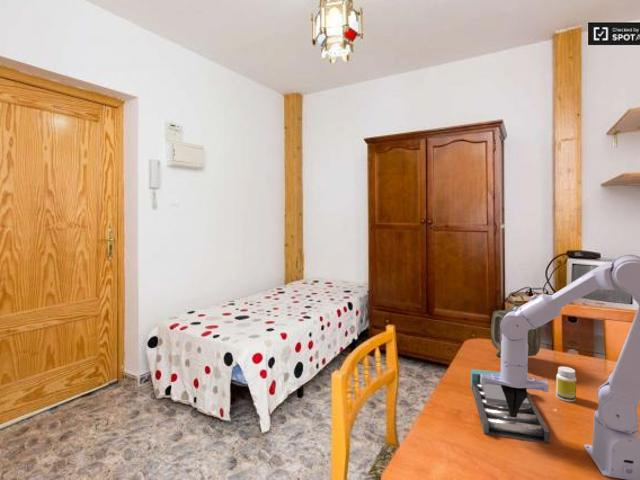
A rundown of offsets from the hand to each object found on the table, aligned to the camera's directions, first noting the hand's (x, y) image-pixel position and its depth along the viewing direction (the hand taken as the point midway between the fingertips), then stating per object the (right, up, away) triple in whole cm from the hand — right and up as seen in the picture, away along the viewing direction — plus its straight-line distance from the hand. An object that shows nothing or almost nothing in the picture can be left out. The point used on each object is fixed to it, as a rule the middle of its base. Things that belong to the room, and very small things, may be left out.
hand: (512, 415), depth 86 cm
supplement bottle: (+23, -2, +14) cm, 27 cm away
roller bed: (+2, -3, +7) cm, 8 cm away
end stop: (+6, -2, +19) cm, 20 cm away
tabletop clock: (+22, -1, +39) cm, 44 cm away
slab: (+3, 0, +11) cm, 11 cm away
